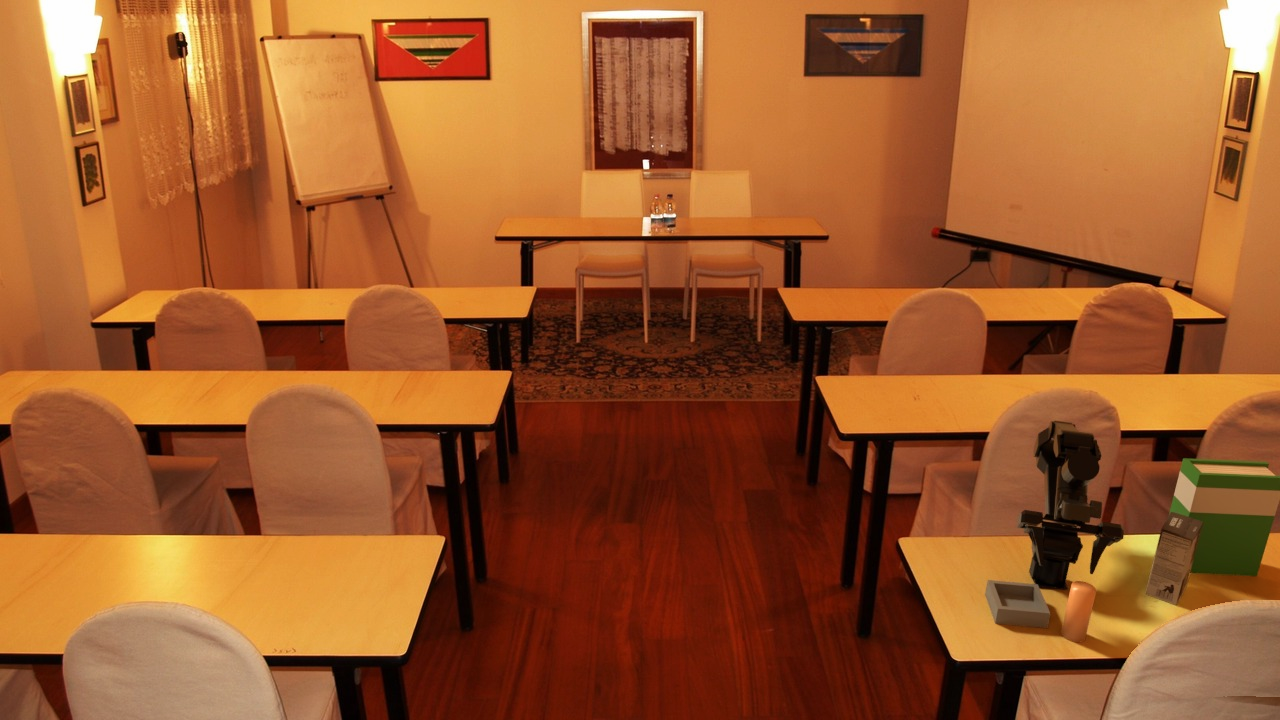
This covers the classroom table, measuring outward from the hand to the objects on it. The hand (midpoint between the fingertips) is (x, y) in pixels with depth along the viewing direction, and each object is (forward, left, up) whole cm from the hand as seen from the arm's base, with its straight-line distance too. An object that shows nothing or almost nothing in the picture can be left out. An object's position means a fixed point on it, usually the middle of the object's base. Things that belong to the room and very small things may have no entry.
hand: (1066, 569), depth 192 cm
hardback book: (-40, -27, -13) cm, 50 cm away
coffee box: (-27, -15, -13) cm, 33 cm away
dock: (+7, -3, -12) cm, 14 cm away
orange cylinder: (-3, +4, -12) cm, 13 cm away
